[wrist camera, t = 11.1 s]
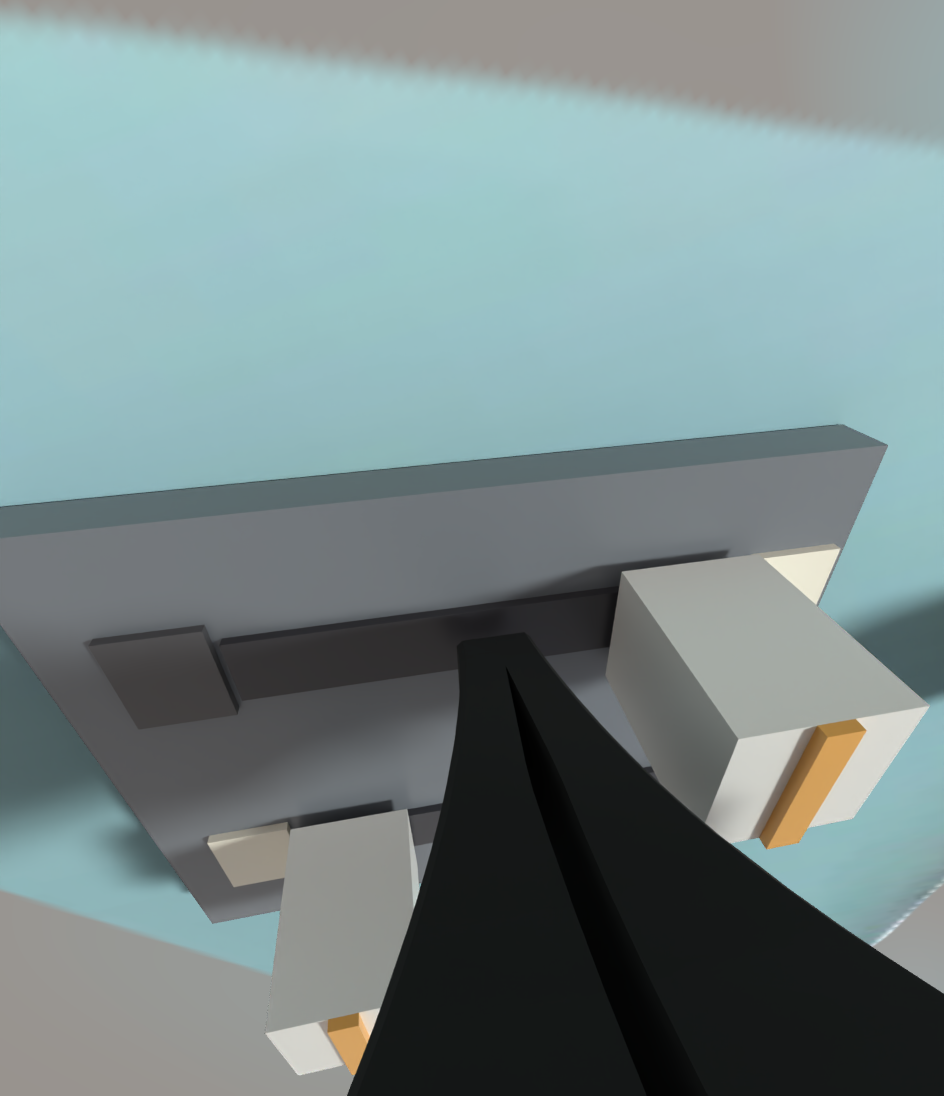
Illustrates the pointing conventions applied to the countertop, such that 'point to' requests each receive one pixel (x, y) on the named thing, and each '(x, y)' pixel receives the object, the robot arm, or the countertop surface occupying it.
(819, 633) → the toggle
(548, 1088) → the robot arm
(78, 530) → the switch unit
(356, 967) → the toggle
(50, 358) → the countertop surface
